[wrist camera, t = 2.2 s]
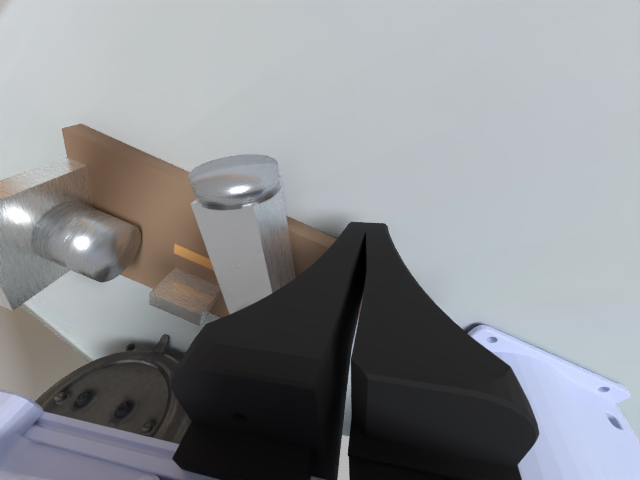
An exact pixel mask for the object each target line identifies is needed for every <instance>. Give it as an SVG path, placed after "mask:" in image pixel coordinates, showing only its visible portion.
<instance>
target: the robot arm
mask: <svg viewBox="0 0 640 480" xmlns="http://www.w3.org/2000/svg"><path fill="white" fill-rule="evenodd" d="M362 297H363V298H362ZM361 301H362V305H361ZM360 306H361V311H360ZM359 311H360V316H359V322H358V327H357V333H356V338H355V343H354V348H353V353H352V357H351V349H352V343H353V338H354V333H355V329H356V324H357V320H358V315H359ZM350 357H351V402H352V420H351V429H350V438H349V447H348V456H349V475H350V480H640V441H639V440H638V438H637V436H636V435H635V433H634V432H633V430H632V428H631V427H630V425H629V423H628V422H627V420H626V419H625V417H624V415H623V414H622V412H621V410H620V409H619V407H618V406H617V403H619V402H622V401H624V400H626V399H628V398H629V397H630V396H631V395H630V393H629V391H628V390H627V388H625V387H624V386H622V385H619V384H617V383H615V382H613V381H610V380H608V379H606V378H604V377H601V376H599V375H597V374H595V373H592V372H590V371H588V370H586V369H583V368H581V367H579V366H577V365H574V364H572V363H570V362H568V361H566V360H563V359H561V358H559V357H557V356H554V355H552V354H550V353H548V352H545V351H543V350H541V349H539V348H536V347H534V346H532V345H530V344H527V343H525V342H523V341H521V340H518V339H516V338H514V337H512V336H509V335H507V334H505V333H503V332H500V331H498V330H496V329H494V328H491V327H489V326H486V325H479V326H476V327H475V328H473V329H472V330H471V331H470V332H468V333H466V332H465V331H464V330H463V329H462V328H460V327H459V326H458V325H457V324H456V323H455V322H454V321H453V320H451V319H450V318H449V317H448V316H447V315H446V314H445V313H444V312H443V311H442V310H441V309H440V308H439V307H438V306H437V305H436V304H435V303H434V302H433V300H432V299H431V298H430V297H429V296H428V295H427V294H426V293H425V291H424V290H423V289H422V288H421V286H420V285H419V284H418V283H417V281H416V280H415V279H414V277H413V276H412V274H411V273H410V271H409V270H408V268H407V267H406V265H405V264H404V262H403V261H402V259H401V257H400V255H399V253H398V252H397V250H396V248H395V246H394V244H393V241H392V239H391V237H390V234H389V231H388V226H387V225H386V224H383V223H363V222H351V223H350V224H348V226H347V227H346V228H345V230H344V231H343V232H342V234H341V235H340V236H339V237H338V238H337V240H336V241H335V242H334V243H333V244H332V245H331V246H330V247H329V248H328V250H327V251H326V252H325V253H324V254H323V255H322V256H320V257H319V258H318V259H317V260H316V261H315V262H314V263H313V264H312V265H311V266H310V267H309V268H307V269H306V270H305V271H304V272H303V273H301V274H300V275H299V276H297V277H296V278H295V279H293V280H292V281H291V282H289V283H287V284H286V285H284V286H283V287H281V288H280V289H278V290H277V291H275V292H273V293H272V294H270V295H268V296H266V297H265V298H263V299H261V300H259V301H257V302H255V303H253V304H251V305H249V306H247V307H245V308H243V309H241V310H239V311H237V312H234V313H232V314H230V315H227V316H225V317H223V318H220V319H218V320H215V321H213V322H210V323H208V324H206V325H205V326H204V327H203V329H202V330H201V331H200V333H199V334H198V335H197V337H196V338H195V339H194V341H193V342H192V344H191V346H190V347H189V349H188V350H187V352H186V353H185V355H184V356H183V358H182V359H181V361H180V362H179V364H178V365H177V367H176V368H175V370H174V371H173V373H172V375H171V376H170V386H171V389H172V391H173V393H174V395H175V397H176V398H177V400H178V401H179V403H180V404H181V406H182V407H183V409H184V410H185V412H186V413H187V415H188V416H189V418H190V419H191V421H192V422H191V424H190V426H189V427H188V429H187V431H186V433H185V435H184V437H183V439H182V441H181V442H180V444H176V443H172V442H168V441H164V440H160V439H156V438H151V437H147V436H143V435H139V434H135V433H131V432H127V431H122V430H118V429H114V428H110V427H106V426H102V425H98V424H93V423H89V422H85V421H81V420H77V419H73V418H69V417H64V416H60V415H56V414H52V413H48V412H44V411H43V408H42V407H41V406H40V405H38V404H37V403H36V402H35V401H33V400H32V399H30V398H28V397H26V396H24V395H21V394H18V393H14V392H10V391H6V390H1V389H0V480H337V477H338V466H339V457H340V447H341V438H342V428H343V419H344V410H345V400H346V392H347V383H348V374H349V365H350Z"/></svg>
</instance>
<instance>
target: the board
mask: <svg viewBox="0 0 640 480" xmlns="http://www.w3.org/2000/svg"><path fill="white" fill-rule="evenodd" d="M62 132H63V137H64V143H65V148H66V153H67V157H68V158H70V159H72V160H74V161H77V162H79V163H81V164H83V165H86V167H87V174H88V180H89V187H90V193H91V200H92V207H93V208H95V209H97V210H100V211H102V212H104V213H107V214H109V215H111V216H113V217H116V218H118V219H120V220H123V221H125V222H127V223H130V224H132V225H134V226H136V227H138V229H139V230H140V233H141V242H140V246H139V249H138V251H137V253H136V255H135V257H134V259H133V260H132V262H131V263H130V264H129V266H128V267H127V268H126V269H125V270H124V271H123V272H122V273H121V274H120V275H123V276H125V277H127V278H130V279H132V280H134V281H137V282H139V283H141V284H144V285H146V286H148V287H151V288H153V289H155V288H156V287H157V286H158V285H159V283H160V282H161V281H162V280H163V279H164V278H165V277H166V276H167V275H168V274H169V273H170V272H171V271H172V270H173V269H174V268H177V269H179V270H181V271H184V272H186V273H188V274H191V275H193V276H195V277H198V278H200V279H202V280H205V281H207V282H209V283H212V284H214V285H216V286H218V287H220V286H219V283H218V280H217V277H216V274H215V272H214V269H213V266H212V263H211V260H210V257H209V255H208V252H207V249H206V246H205V243H204V240H203V238H202V235H201V232H200V229H199V226H198V223H197V221H196V218H195V215H194V212H193V209H192V206H191V203H192V202H193V201H195V200H196V198H195V195H194V192H193V189H192V186H191V183H190V180H189V172H187V171H185V170H183V169H181V168H178V167H176V166H174V165H172V164H169V163H167V162H165V161H163V160H160V159H158V158H156V157H154V156H152V155H149V154H147V153H145V152H143V151H140V150H138V149H136V148H134V147H132V146H129V145H127V144H125V143H123V142H120V141H118V140H116V139H114V138H111V137H109V136H107V135H105V134H103V133H100V132H98V131H96V130H94V129H91V128H89V127H87V126H85V125H82V124H78V125H74V126H70V127H66V128H62ZM286 217H287V216H286ZM287 224H288V230H289V237H290V244H291V250H292V257H293V264H294V270H295V277H297V276H299V275H300V274H301V273H303V272H304V271H305V270H306V269H307V268H309V267H310V266H311V265H312V264H313V263H314V262H315V261H316V260H317V259H318V258H319V257H320V256H322V255H323V254H324V253H325V252H326V251H327V250H328V248H329V247H330V246H331V245H332V244H333V243H334V242H335V241H336V240H337V239H336V238H334V237H332V236H330V235H328V234H325V233H323V232H321V231H319V230H316V229H314V228H312V227H310V226H308V225H305V224H303V223H301V222H299V221H296V220H294V219H292V218H290V217H287ZM362 298H363V297H362ZM361 305H362V301H361ZM360 311H361V306H360ZM360 311H359V315H360ZM209 313H211V314H214V315H216V316H218V317H221V318H223V317H225V316H227V315H230V314H229V311H228V308H227V306H226V303H225V300H224V297H223V294H222V291H221V290H220V295H219V298H218V299H217V301H216V302H215V304H214V305H213V307H212V308H211V310H210V311H209ZM359 315H358V316H359Z"/></svg>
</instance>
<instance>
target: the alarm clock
mask: <svg viewBox="0 0 640 480" xmlns="http://www.w3.org/2000/svg"><path fill="white" fill-rule="evenodd" d="M167 343H168V336H167V335H163V336H162V337H161V339H160V341H159V343H158V344H157V346H156V347H155V349H154V350H153V351H150V350H134V345H132V344H130V345H128V346H127V347H126V350H127V351H125V352H120V353H115V354H112V355H109V356H106V357H103V358H100V359H97V360H95V361H93V362H90V363H88V364H86V365H84V366H82V367H80V368H79V369H77V370H75V371H73V372H72V373H70V374H69V375H67V376H66V377H64V378H63V379H61V380H60V381H58V382H57V383H56V384H54V385H53V386H52V387H51V388H50V389H48V390H47V391H46V392H45V393H44V394H42V395H41V396H40V397H39V398H38V399H37V400H36V401H35V402H36V403H37V404H38V405H40V406H41V407H42V408H43V411H44V412H48V413H52V414H56V415H60V416H64V417H69V418H73V419H77V420H81V421H85V422H89V423H93V424H98V425H102V426H106V427H110V428H114V429H118V430H122V431H127V432H131V433H135V434H139V435H143V436H147V437H151V438H156V439H160V440H164V441H168V442H172V443H176V444H180V442H181V441H182V439H183V437H184V435H185V433H186V431H187V429H188V427H189V426H190V424H191V422H192V421H191V419H190V418H189V416H188V415H187V413H186V412H185V410H184V409H183V407H182V406H181V404H180V403H179V401H178V400H177V398H176V397H175V395H174V393H173V391H172V389H171V386H170V376H171V375H172V373H173V371H174V370H175V368H176V367H177V365H178V364H179V361H178V360H176V359H175V358H173V357H171V356H169V355H167V354H165V353H163V350H164V348H165V347H166V345H167Z"/></svg>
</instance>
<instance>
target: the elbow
mask: <svg viewBox="0 0 640 480" xmlns="http://www.w3.org/2000/svg"><path fill="white" fill-rule="evenodd" d="M189 180H190V183H191V186H192V189H193V192H194V195H195V198H196V200H195V201H193V202H192V203H191V206H192V209H193V212H194V215H195V218H196V221H197V223H198V226H199V229H200V232H201V235H202V238H203V240H204V243H205V246H206V249H207V252H208V255H209V257H210V260H211V263H212V266H213V269H214V272H215V274H216V277H217V280H218V283H219V286H220V289H221V291H222V294H223V297H224V300H225V303H226V306H227V308H228V311H229V314H232V313H234V312H237V311H239V310H241V309H243V308H245V307H247V306H249V305H251V304H253V303H255V302H257V301H259V300H261V299H263V298H265V297H266V296H268V295H270V294H272V293H273V292H275V291H277V290H278V289H280V288H281V287H283V286H284V285H286V284H287V283H289V282H291V281H292V280H293V279H295V278H296V277H295V270H294V264H293V257H292V250H291V244H290V237H289V230H288V224H287V217H286V210H285V204H284V197H283V190H282V184H281V177H280V175H279V170H278V163H277V161H276V160H275V159H274V158H272V157H269V156H264V155H237V156H230V157H225V158H220V159H216V160H213V161H210V162H207V163H204V164H202V165H200V166H198V167H196V168H195V169H193V170H192V171H191V172H190V173H189Z"/></svg>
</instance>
